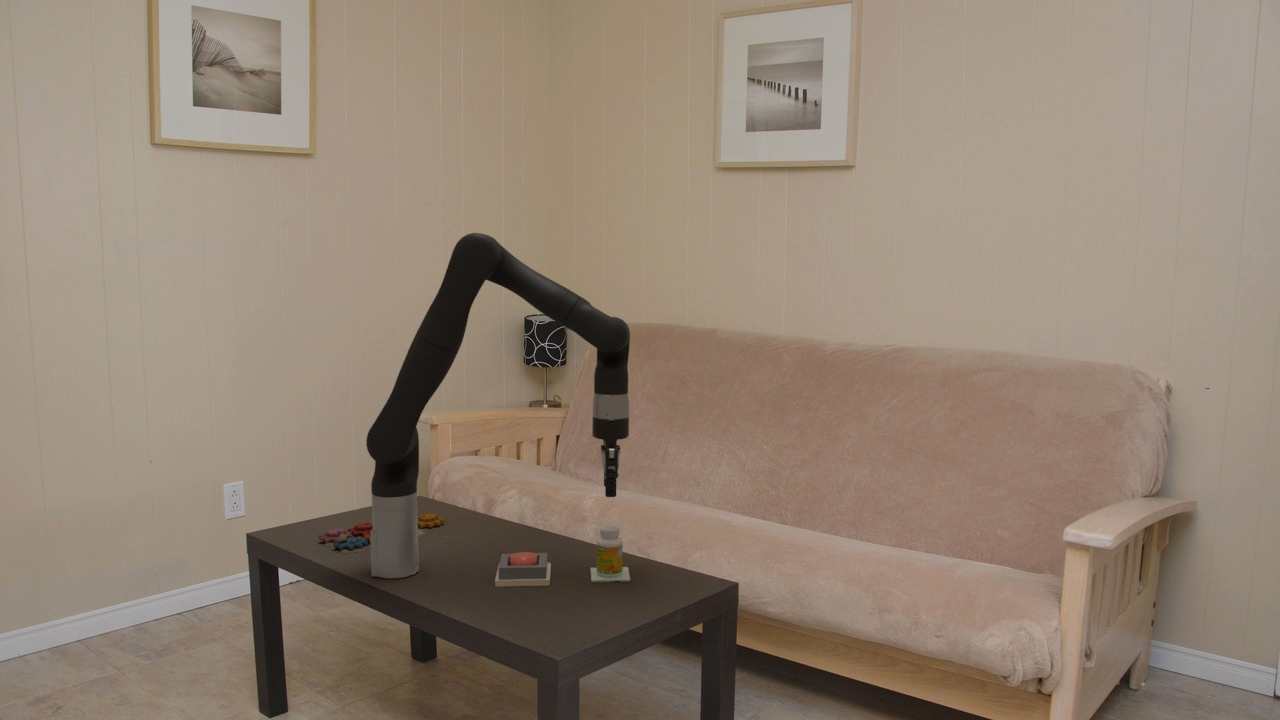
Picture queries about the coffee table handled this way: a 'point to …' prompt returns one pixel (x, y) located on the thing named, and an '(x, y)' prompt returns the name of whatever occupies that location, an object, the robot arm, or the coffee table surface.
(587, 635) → the coffee table surface
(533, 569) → the dome console
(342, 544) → the gear puzzle
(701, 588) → the coffee table surface
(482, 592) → the coffee table surface
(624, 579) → the mat
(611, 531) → the supplement bottle
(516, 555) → the dome button
